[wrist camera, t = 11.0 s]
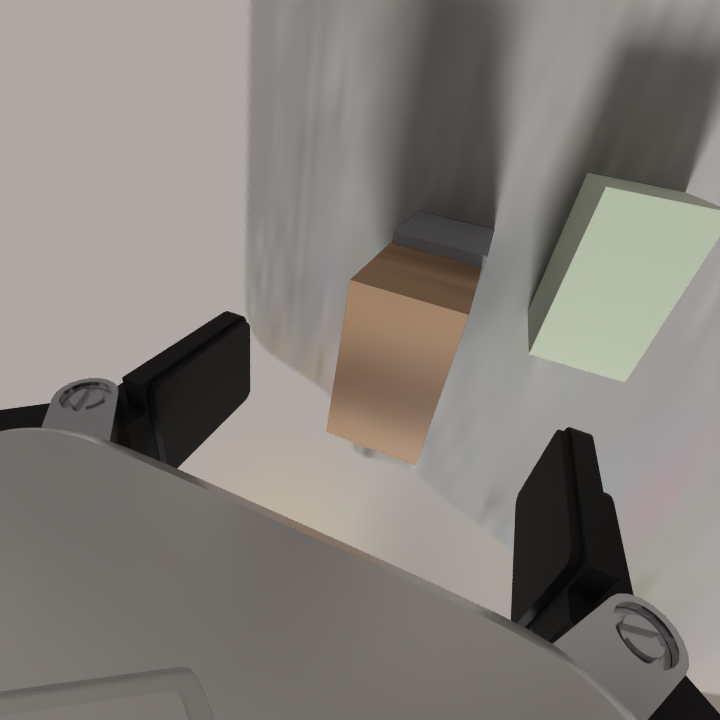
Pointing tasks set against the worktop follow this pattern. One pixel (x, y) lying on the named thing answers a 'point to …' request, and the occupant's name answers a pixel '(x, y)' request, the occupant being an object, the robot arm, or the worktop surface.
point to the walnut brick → (398, 348)
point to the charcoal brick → (445, 238)
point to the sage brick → (618, 273)
